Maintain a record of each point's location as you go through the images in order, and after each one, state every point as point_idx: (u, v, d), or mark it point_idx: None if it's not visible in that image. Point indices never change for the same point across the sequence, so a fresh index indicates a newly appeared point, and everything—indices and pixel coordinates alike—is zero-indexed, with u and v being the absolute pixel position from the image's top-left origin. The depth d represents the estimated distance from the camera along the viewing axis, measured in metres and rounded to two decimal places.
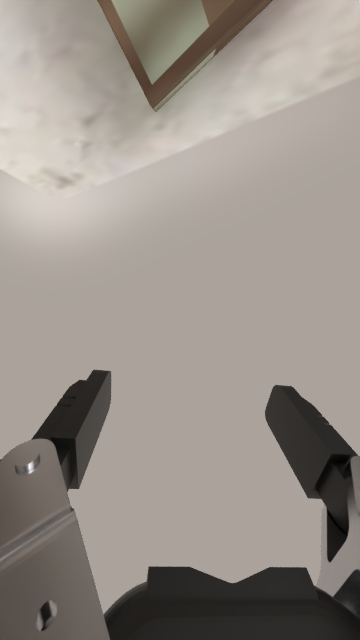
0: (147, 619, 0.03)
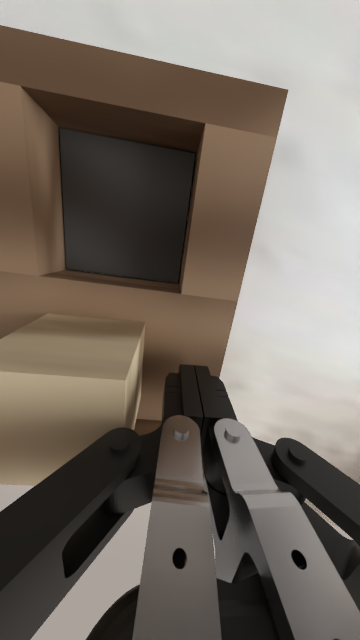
0: (147, 619, 0.03)
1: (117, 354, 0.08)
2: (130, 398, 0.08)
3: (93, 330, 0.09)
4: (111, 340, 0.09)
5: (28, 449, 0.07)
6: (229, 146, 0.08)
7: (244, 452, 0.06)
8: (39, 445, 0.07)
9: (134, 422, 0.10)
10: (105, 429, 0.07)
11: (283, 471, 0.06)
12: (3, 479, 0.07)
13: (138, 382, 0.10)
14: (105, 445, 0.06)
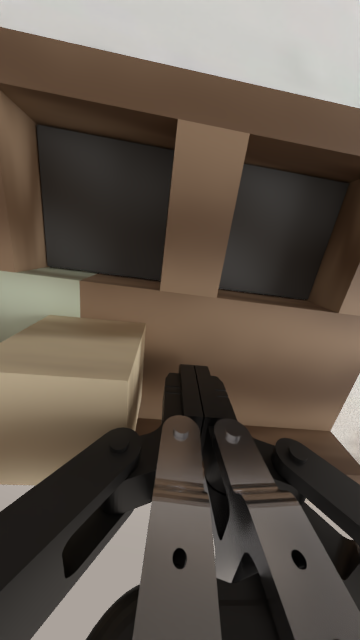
0: (147, 619, 0.03)
1: (119, 354, 0.08)
2: (132, 398, 0.08)
3: (94, 331, 0.09)
4: (112, 341, 0.09)
5: (32, 449, 0.07)
6: None
7: (244, 452, 0.06)
8: (42, 446, 0.07)
9: (135, 422, 0.10)
10: (107, 429, 0.07)
11: (283, 471, 0.06)
12: (6, 479, 0.08)
13: (139, 382, 0.10)
14: (105, 445, 0.06)
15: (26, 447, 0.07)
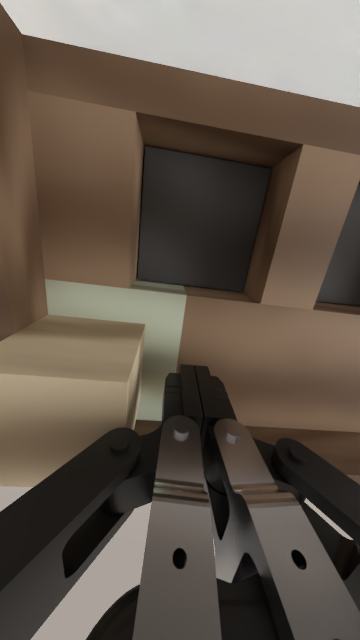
0: (147, 619, 0.03)
1: (118, 355, 0.08)
2: (131, 400, 0.08)
3: (94, 332, 0.09)
4: (112, 342, 0.09)
5: (29, 451, 0.07)
6: None
7: (244, 452, 0.06)
8: (40, 447, 0.07)
9: (134, 423, 0.10)
10: (106, 430, 0.07)
11: (283, 471, 0.06)
12: (3, 480, 0.07)
13: (138, 383, 0.10)
14: (105, 445, 0.06)
15: (23, 448, 0.07)
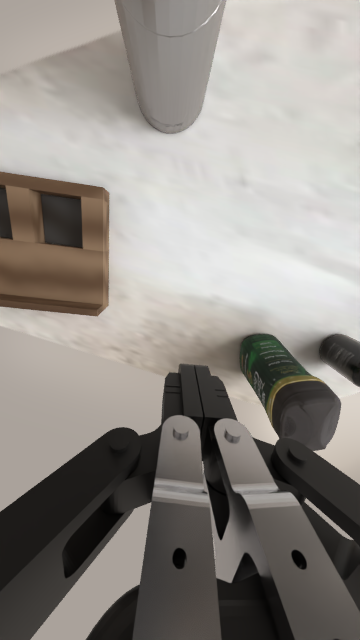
0: (147, 619, 0.03)
1: None
2: None
3: None
4: None
5: None
6: (89, 202, 0.29)
7: (244, 452, 0.06)
8: None
9: None
10: None
11: (283, 471, 0.06)
12: None
13: None
14: (105, 445, 0.06)
15: None
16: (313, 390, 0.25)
